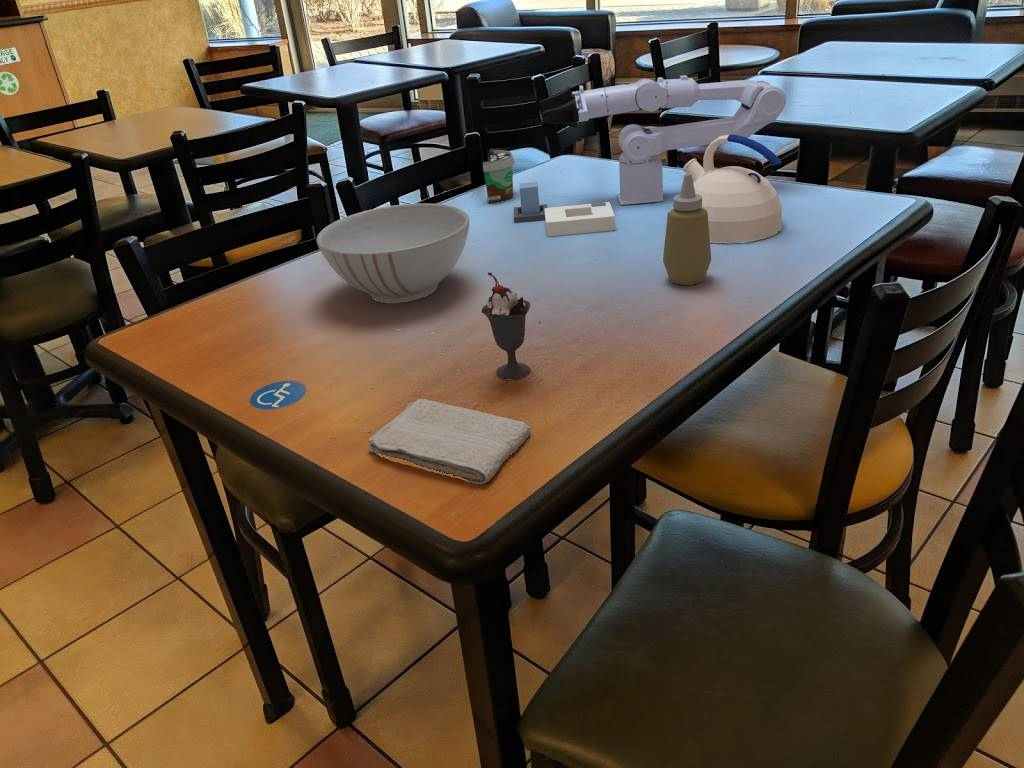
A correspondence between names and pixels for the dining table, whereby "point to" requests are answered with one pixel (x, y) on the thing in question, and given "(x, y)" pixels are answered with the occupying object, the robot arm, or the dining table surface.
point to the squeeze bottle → (687, 237)
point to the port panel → (579, 219)
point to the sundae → (508, 327)
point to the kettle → (736, 196)
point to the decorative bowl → (396, 249)
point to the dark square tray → (529, 217)
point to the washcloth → (450, 439)
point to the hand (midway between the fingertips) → (541, 112)
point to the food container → (499, 176)
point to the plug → (529, 198)
